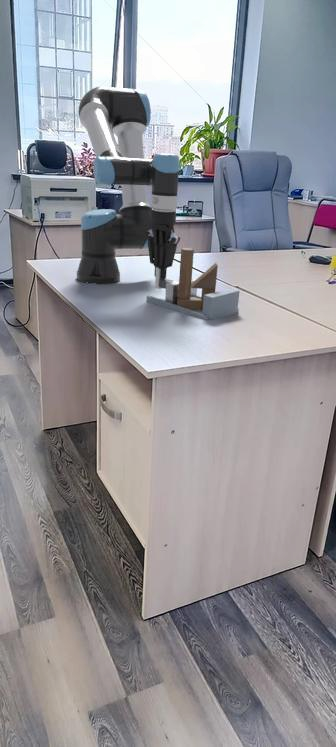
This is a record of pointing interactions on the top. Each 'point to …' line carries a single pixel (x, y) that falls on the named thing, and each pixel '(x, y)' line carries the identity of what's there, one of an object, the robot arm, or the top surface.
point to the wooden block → (203, 282)
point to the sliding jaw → (174, 290)
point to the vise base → (208, 304)
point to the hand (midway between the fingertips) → (159, 287)
